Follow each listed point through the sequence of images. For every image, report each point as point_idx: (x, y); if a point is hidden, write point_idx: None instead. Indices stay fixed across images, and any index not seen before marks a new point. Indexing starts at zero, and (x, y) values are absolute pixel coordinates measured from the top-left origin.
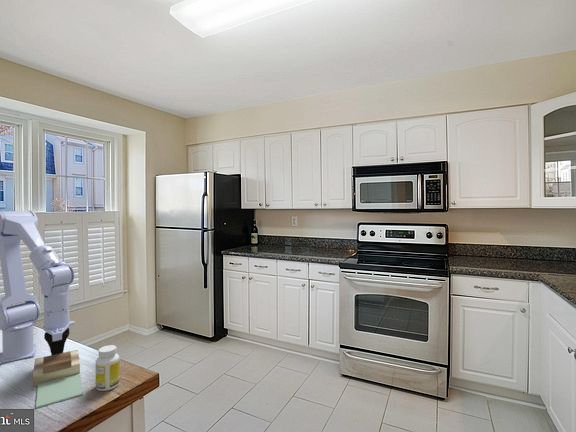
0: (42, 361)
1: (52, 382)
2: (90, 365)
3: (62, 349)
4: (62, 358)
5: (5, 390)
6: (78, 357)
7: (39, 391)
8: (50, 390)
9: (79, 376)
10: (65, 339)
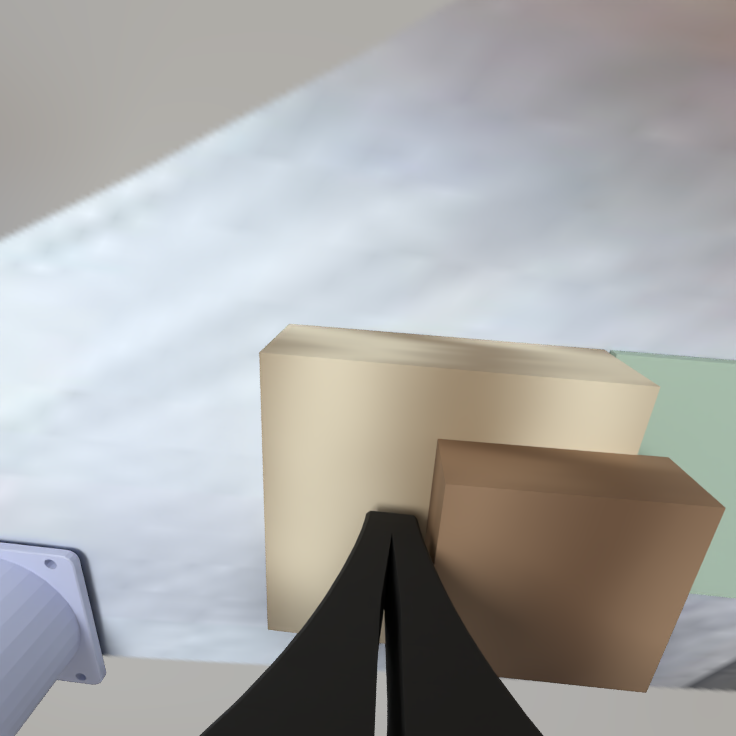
0: None
1: None
2: (486, 249)
3: (437, 579)
4: (599, 566)
5: None
6: (480, 375)
7: None
8: (716, 538)
9: (674, 365)
10: (531, 730)
